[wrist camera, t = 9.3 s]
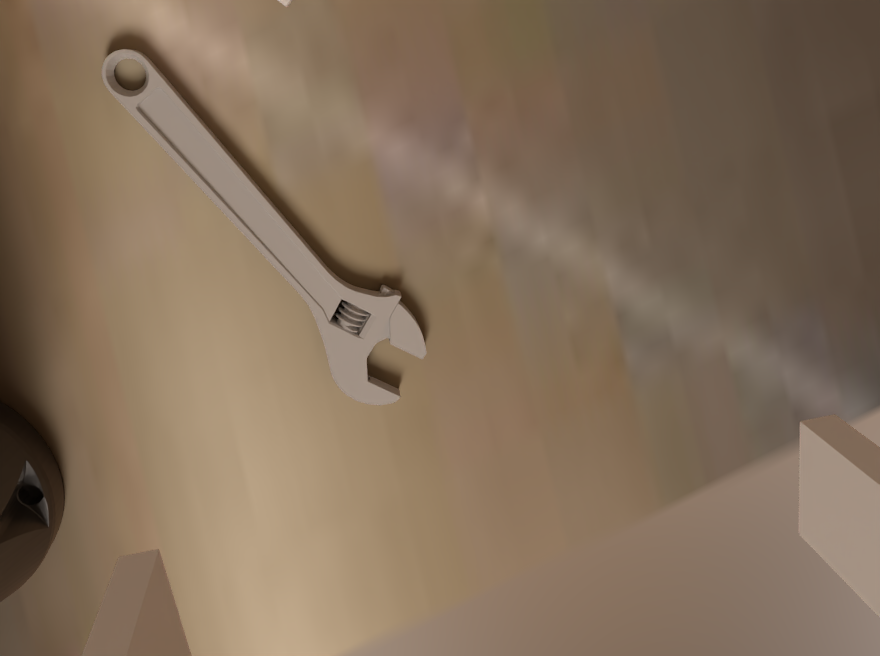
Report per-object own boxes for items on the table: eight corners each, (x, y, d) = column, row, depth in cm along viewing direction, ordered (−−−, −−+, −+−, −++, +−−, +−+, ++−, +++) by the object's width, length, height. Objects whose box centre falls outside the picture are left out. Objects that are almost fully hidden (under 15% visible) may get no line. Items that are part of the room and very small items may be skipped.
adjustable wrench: (95, 69, 45) (86, 70, 44) (191, -1, 45) (186, -3, 43) (362, 408, 54) (363, 420, 52) (445, 352, 53) (449, 363, 52)
